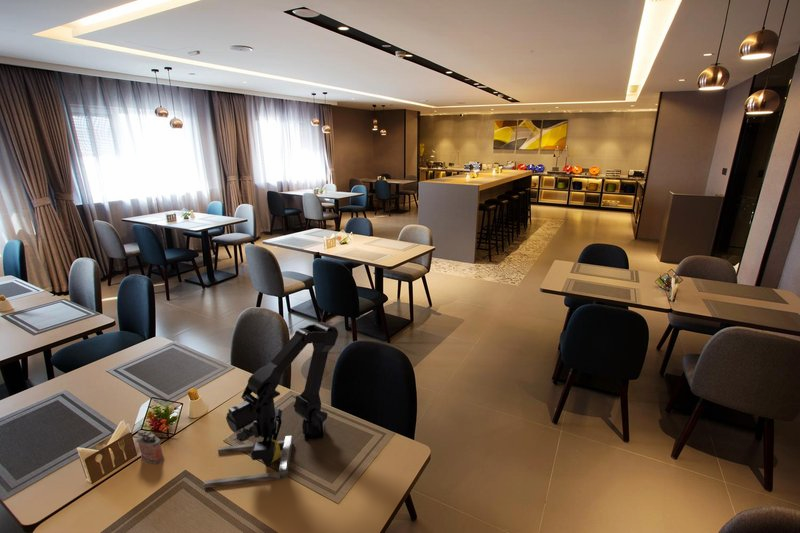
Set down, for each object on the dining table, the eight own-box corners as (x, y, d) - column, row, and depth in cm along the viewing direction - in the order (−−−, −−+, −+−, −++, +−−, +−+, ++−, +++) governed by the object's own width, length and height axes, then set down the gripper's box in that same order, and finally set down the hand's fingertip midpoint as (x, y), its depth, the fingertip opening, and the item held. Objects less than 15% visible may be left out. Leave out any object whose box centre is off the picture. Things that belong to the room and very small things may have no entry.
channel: (292, 443, 129) (291, 435, 128) (286, 478, 115) (285, 470, 114) (219, 450, 126) (218, 443, 125) (204, 487, 112) (203, 479, 111)
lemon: (275, 469, 118) (272, 448, 116) (259, 466, 120) (256, 445, 117) (284, 456, 124) (281, 435, 121) (268, 453, 125) (265, 432, 122)
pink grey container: (167, 457, 123) (161, 431, 120) (157, 465, 120) (151, 439, 117) (148, 451, 126) (142, 426, 123) (138, 459, 123) (131, 433, 120)
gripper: (244, 396, 124) (250, 436, 128) (228, 438, 106) (236, 483, 111) (280, 393, 125) (285, 433, 130) (270, 433, 108) (276, 478, 112)
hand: (270, 455), depth 121 cm, fingers open, 9 cm apart
